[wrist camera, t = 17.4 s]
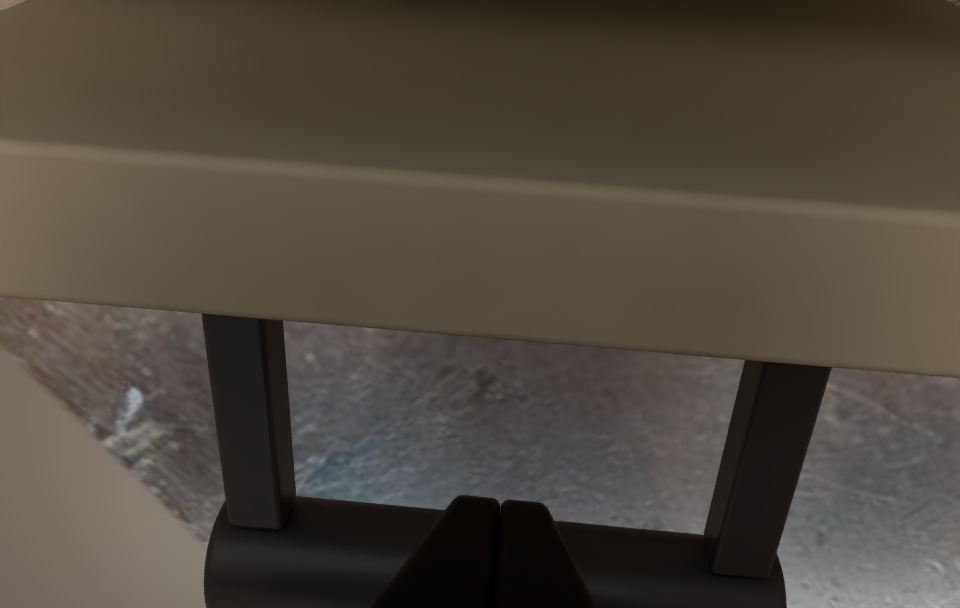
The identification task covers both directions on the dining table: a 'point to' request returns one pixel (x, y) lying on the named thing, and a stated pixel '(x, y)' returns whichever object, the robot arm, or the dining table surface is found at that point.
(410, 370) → the dining table surface
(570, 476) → the dining table surface
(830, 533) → the dining table surface
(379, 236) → the drawer
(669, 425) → the dining table surface
